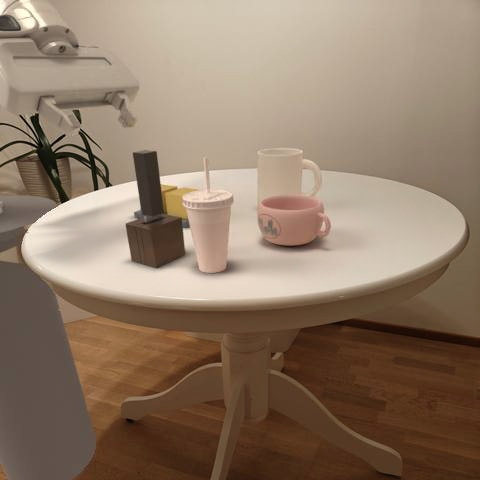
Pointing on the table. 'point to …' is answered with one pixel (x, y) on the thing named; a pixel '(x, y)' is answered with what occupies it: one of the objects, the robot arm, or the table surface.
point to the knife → (149, 185)
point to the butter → (175, 200)
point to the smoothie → (209, 224)
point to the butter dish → (184, 221)
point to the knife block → (156, 240)
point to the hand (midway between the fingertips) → (104, 128)
